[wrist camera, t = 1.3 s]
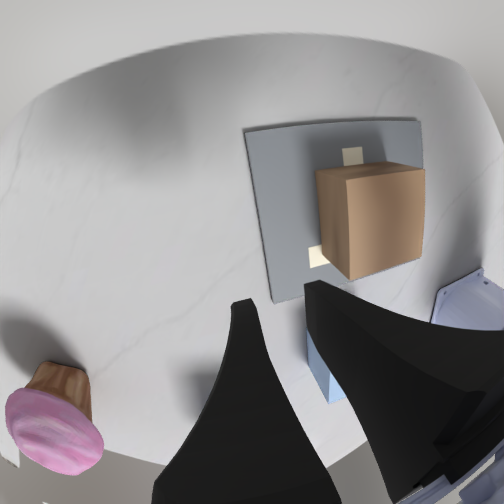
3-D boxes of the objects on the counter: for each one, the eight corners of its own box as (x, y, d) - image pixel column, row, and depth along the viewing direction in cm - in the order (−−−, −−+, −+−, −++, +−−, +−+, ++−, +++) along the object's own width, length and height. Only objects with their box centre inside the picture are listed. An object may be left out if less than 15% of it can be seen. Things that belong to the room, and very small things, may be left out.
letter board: (417, 121, 17) (420, 121, 17) (416, 256, 22) (419, 258, 22) (244, 133, 16) (245, 132, 15) (272, 301, 21) (273, 304, 20)
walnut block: (387, 161, 18) (424, 169, 14) (388, 236, 20) (421, 256, 17) (314, 170, 17) (346, 179, 14) (322, 254, 20) (349, 280, 16)
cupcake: (104, 353, 20) (81, 457, 11) (117, 412, 23) (110, 496, 14) (19, 335, 17) (-24, 418, 8) (43, 396, 20) (22, 470, 11)
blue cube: (357, 309, 23) (388, 343, 19) (354, 348, 25) (379, 382, 21) (305, 326, 23) (330, 366, 18) (308, 365, 25) (328, 404, 20)
